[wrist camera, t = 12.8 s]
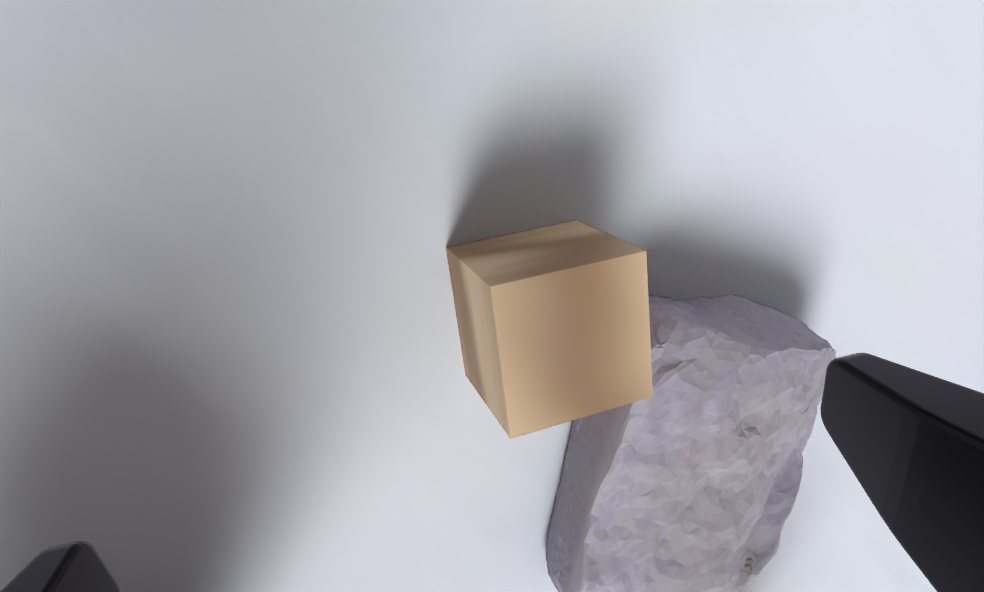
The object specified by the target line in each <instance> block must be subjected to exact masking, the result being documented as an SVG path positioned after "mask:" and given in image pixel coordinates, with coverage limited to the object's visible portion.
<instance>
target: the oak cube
mask: <svg viewBox="0 0 984 592" xmlns="http://www.w3.org/2000/svg"><path fill="white" fill-rule="evenodd" d="M446 251H447V257H448V264H449V270H450V277H451V283H452V290H453V296H454V303H455V309H456V316H457V323H458V329H459V336H460V342H461V349H462V355H463V362H464V368H465V375H466V376H467V378H468V379H469V380H470V382H471V383H472V385H473V386H474V388H475V389H476V390H477V392H478V393H479V395H480V396H481V398H482V399H483V400H484V402H485V403H486V405H487V406H488V408H489V409H490V410H491V412H492V413H493V415H494V416H495V418H496V419H497V420H498V422H499V423H500V425H501V426H502V428H503V429H504V430H505V432H506V433H507V435H508V436H509V437H510V439H511V438H514V437H518V436H521V435H525V434H528V433H531V432H535V431H538V430H542V429H545V428H548V427H552V426H555V425H559V424H562V423H565V422H569V421H572V420H576V419H579V418H582V417H586V416H589V415H593V414H596V413H599V412H603V411H606V410H609V409H613V408H616V407H620V406H623V405H626V404H630V403H633V402H637V401H640V400H643V399H647V398H650V397H653V386H652V364H651V342H650V319H649V297H648V274H647V252H646V250H643V249H641V248H639V247H636V246H634V245H632V244H630V243H627V242H625V241H623V240H620V239H618V238H616V237H614V236H611V235H609V234H607V233H604V232H602V231H600V230H598V229H595V228H593V227H591V226H588V225H586V224H584V223H581V222H579V221H577V220H575V221H570V222H565V223H560V224H556V225H551V226H546V227H541V228H536V229H532V230H527V231H522V232H517V233H512V234H508V235H503V236H498V237H493V238H488V239H483V240H479V241H474V242H469V243H464V244H459V245H455V246H450V247H446Z"/></svg>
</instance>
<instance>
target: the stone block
mask: <svg viewBox="0 0 984 592" xmlns="http://www.w3.org/2000/svg"><path fill="white" fill-rule="evenodd" d="M648 297H649V319H650V342H651V364H652V386H653V397H650V398H647V399H643V400H640V401H637V402H633V403H630V404H626V405H623V406H620V407H616V408H613V409H609V410H606V411H603V412H599V413H596V414H593V415H589V416H586V417H582V418H579V419H576V420H573V423H572V427H571V432H570V436H569V441H568V446H567V450H566V453H565V457H564V464H563V471H562V477H561V483H560V486H559V489H558V491H557V494H556V499H555V504H554V509H553V514H552V518H551V522H550V525H549V533H548V538H547V542H546V561H547V567H548V574H549V576H550V578H551V580H552V582H553V584H554V585H555V587H556V589H557V590H558V592H737V591H739V590H741V589H742V588H743V586H744V585H745V584H746V582H747V581H748V580H749V578H750V577H752V576H755V575H757V574H759V572H760V571H761V570H762V568H763V567H764V566H765V565H766V564H767V562H768V561H769V560H770V559H771V558H772V557H773V556H774V555H775V553H776V551H777V548H778V546H779V539H780V531H781V529H782V527H783V524H784V522H785V520H786V518H787V517H788V515H789V514H790V512H791V510H792V508H793V505H794V502H795V499H796V496H797V493H798V491H799V486H800V481H801V477H802V466H803V456H802V451H803V450H804V448H805V446H806V444H807V441H808V439H809V437H810V435H811V433H812V429H813V425H814V421H815V418H816V414H817V406H818V404H819V403H820V401H821V399H822V396H823V389H824V382H825V376H826V370H827V366H828V364H829V363H830V362H831V361H832V360H833V359H835V358H836V357H835V354H836V351H835V350H833V348H832V347H831V345H830V344H829V343H828V341H826V340H824V339H823V338H821V337H820V336H818V335H816V334H815V333H814V332H813V331H812V330H810V329H809V328H808V327H807V325H806V324H804V323H803V322H801V321H799V320H797V319H796V318H794V317H792V316H790V315H788V314H785V313H782V312H779V311H778V310H775V309H773V308H771V307H769V306H763V305H759V304H757V303H754V302H752V301H751V300H749V299H747V298H744V297H738V296H736V295H733V294H730V295H726V296H718V297H709V298H706V297H698V298H696V299H693V300H690V301H684V300H672V299H669V298H666V297H663V298H662V297H660V296H648Z"/></svg>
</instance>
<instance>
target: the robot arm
mask: <svg viewBox="0 0 984 592" xmlns="http://www.w3.org/2000/svg"><path fill="white" fill-rule="evenodd" d="M821 417H822V421H823V423H824V426H825V428H826V430H827V431H828V433H829V435H830V436H831V438H832V439H833V441H834V443H835V444H836V446H837V447H838V449H839V450H840V452H841V454H842V455H843V457H844V458H845V460H846V462H847V463H848V465H849V466H850V468H851V470H852V471H853V473H854V474H855V476H856V477H857V479H858V481H859V482H860V484H861V485H862V487H863V489H864V490H865V492H866V493H867V495H868V497H869V498H870V500H871V501H872V503H873V504H874V506H875V508H876V509H877V511H878V512H879V514H880V516H881V517H882V519H883V520H884V521H885V523H886V524H887V526H888V527H889V529H890V530H891V532H892V533H893V535H894V536H895V537H896V539H897V540H898V541H899V543H900V544H901V545H902V547H903V548H904V549H905V551H906V552H907V553H908V555H909V556H910V557H911V558H912V560H913V561H914V562H915V564H916V565H917V566H918V567H919V569H920V570H921V571H922V573H923V574H924V575H925V576H926V578H927V579H928V580H929V582H930V583H931V584H932V586H933V587H934V588H935V589H936V591H937V592H984V393H981V392H978V391H975V390H972V389H969V388H966V387H963V386H960V385H958V384H955V383H952V382H949V381H946V380H943V379H940V378H937V377H934V376H931V375H929V374H926V373H923V372H920V371H917V370H914V369H911V368H908V367H905V366H902V365H899V364H897V363H894V362H891V361H888V360H885V359H882V358H879V357H876V356H873V355H870V354H867V353H856V354H851V355H847V356H843V357H839V358H835V359H833V360H832V361H831V362H830V363H829V364H828V366H827V370H826V376H825V382H824V389H823V396H822V402H821ZM0 592H120V589H119V586H118V584H117V582H116V581H115V579H114V578H113V576H112V575H111V573H110V572H109V570H108V569H107V567H106V566H105V564H104V563H103V561H102V560H101V558H100V557H99V555H98V554H97V552H96V551H95V549H94V548H93V546H92V545H91V544H89V543H87V542H85V541H76V542H72V543H67V544H63V545H59V546H55V547H51V548H49V549H46V550H44V551H43V552H41V553H40V554H39V555H38V556H37V557H36V558H35V559H34V560H32V561H31V562H30V563H29V564H28V565H27V566H26V567H25V568H24V569H23V570H22V571H21V572H20V573H19V574H18V575H17V576H16V577H15V578H14V579H13V580H12V581H11V582H10V583H9V584H8V585H7V586H6V587H5V588H4V589H3V590H1V591H0Z"/></svg>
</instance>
